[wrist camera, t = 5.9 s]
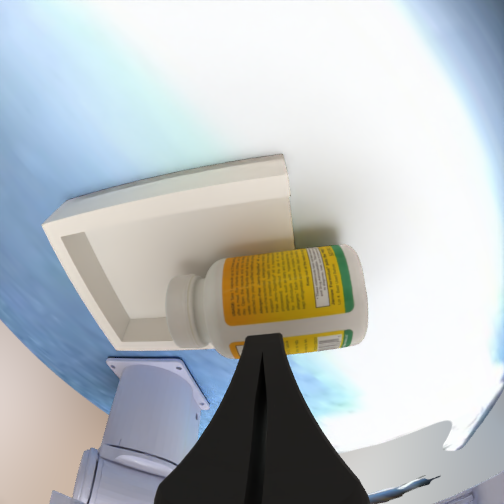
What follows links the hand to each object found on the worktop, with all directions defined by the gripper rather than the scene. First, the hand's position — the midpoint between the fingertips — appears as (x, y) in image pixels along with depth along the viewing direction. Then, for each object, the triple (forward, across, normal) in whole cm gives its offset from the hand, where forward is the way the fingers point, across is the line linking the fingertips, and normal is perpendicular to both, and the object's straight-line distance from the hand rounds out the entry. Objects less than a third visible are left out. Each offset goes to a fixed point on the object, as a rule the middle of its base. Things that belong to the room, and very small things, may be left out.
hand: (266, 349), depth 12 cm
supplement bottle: (+4, -5, +1) cm, 6 cm away
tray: (+7, +4, 0) cm, 9 cm away
